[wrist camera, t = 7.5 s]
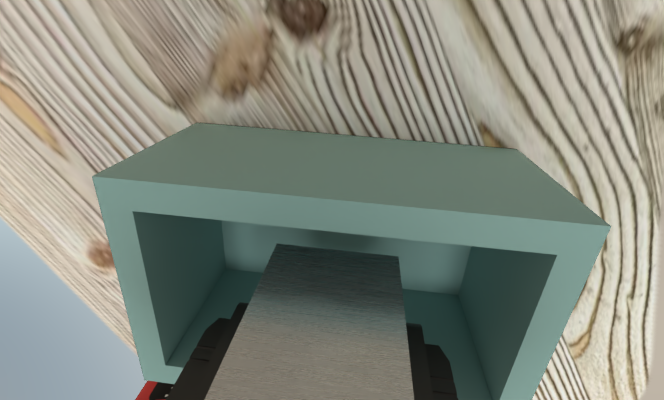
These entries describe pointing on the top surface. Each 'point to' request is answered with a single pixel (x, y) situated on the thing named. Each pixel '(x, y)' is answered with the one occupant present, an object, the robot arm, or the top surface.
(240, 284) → the box
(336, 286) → the grey upright brick
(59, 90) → the top surface
